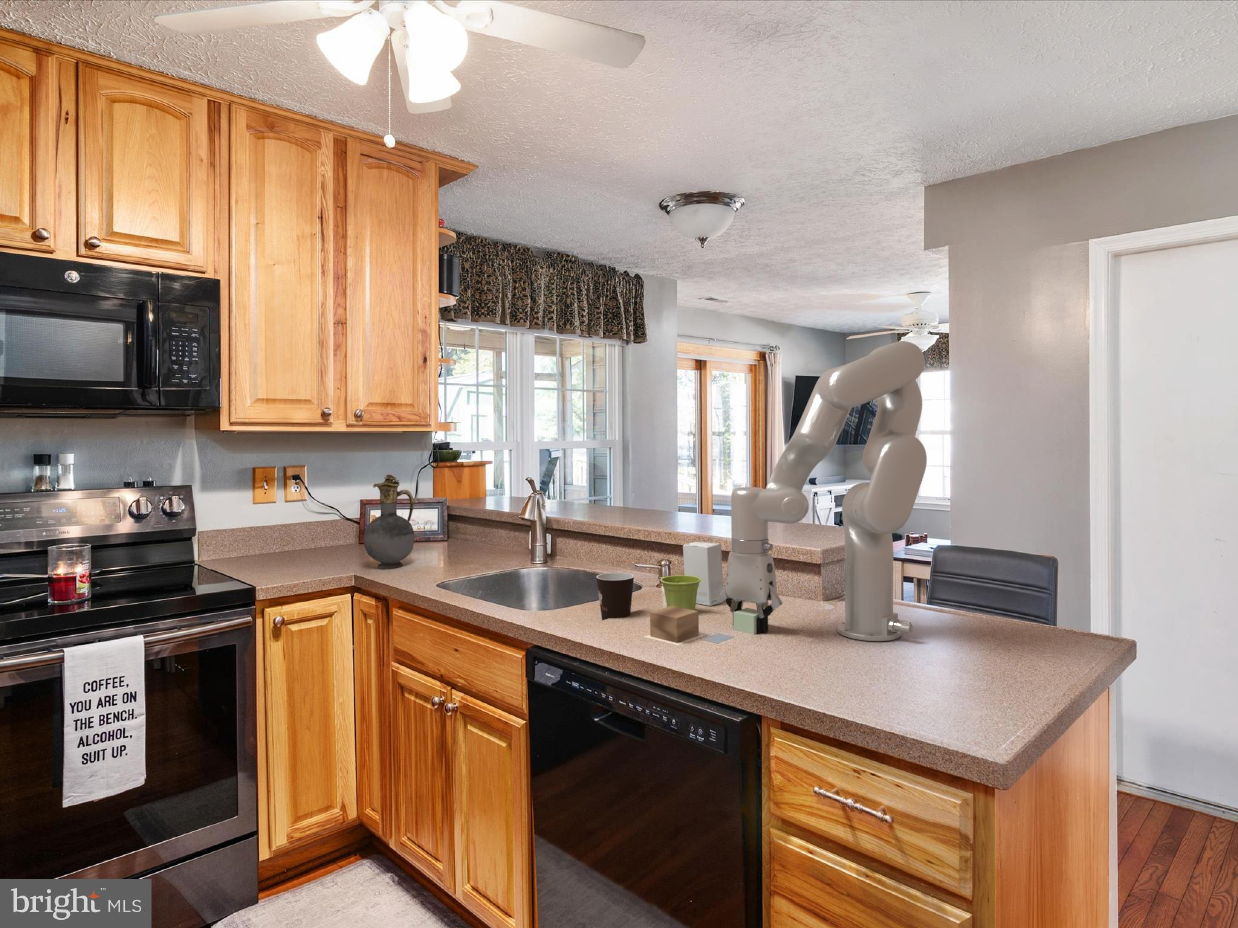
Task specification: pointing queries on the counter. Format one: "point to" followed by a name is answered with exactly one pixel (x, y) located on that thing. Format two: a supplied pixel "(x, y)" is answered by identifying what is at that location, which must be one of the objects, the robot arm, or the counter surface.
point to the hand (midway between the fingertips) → (750, 632)
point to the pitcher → (390, 528)
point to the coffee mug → (615, 594)
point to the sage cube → (745, 620)
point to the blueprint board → (714, 638)
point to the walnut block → (674, 624)
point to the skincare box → (705, 570)
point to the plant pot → (681, 590)
